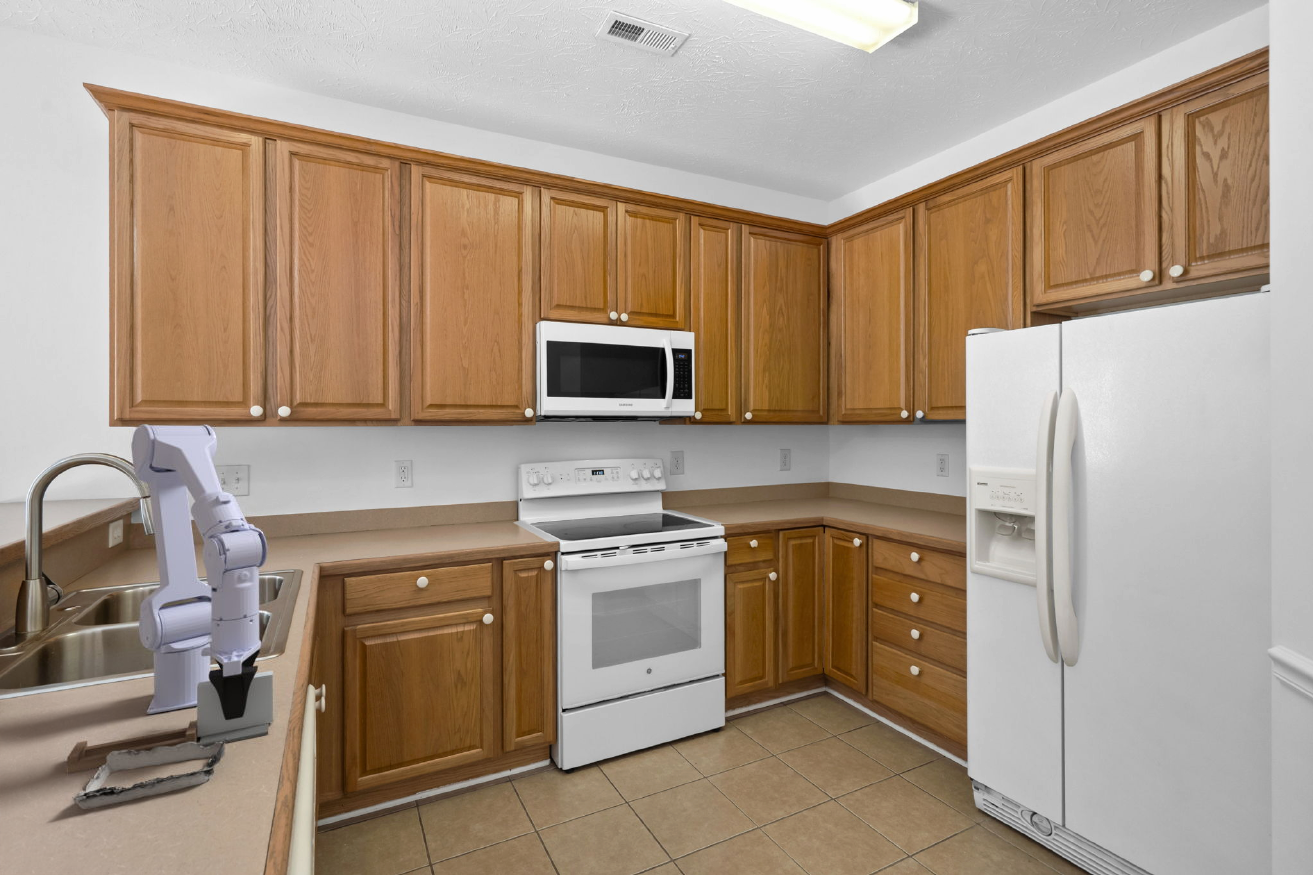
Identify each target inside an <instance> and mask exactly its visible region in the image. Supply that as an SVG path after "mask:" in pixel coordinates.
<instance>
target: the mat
mask: <svg viewBox="0 0 1313 875" xmlns="http://www.w3.org/2000/svg"><path fill="white" fill-rule="evenodd" d="M269 725H270V723H266V724H261V725H256V726H251V727H246V728H241V729H236V730H231V731H226V732H221V733H216V734H211V735H206V736H201V737H200V740H199V743H201V746H204V747H210V746H212V745H214V742H216V741H218V742H223V741H224V740H225V738H227V740H226V741H225V744H228V743H234V742H238V741H242V740H244V741H245V740H249V739H253V738H259V737H262V736H267V735H269V728H270V727H269ZM223 739H224V740H223Z"/></svg>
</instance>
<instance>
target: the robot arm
mask: <svg viewBox="0 0 1313 875" xmlns="http://www.w3.org/2000/svg"><path fill="white" fill-rule="evenodd" d="M217 440H218V439H217V435H216V433H215V430H214V429H212V426H210V425H209V424H201V425H163V424H162V425H160V424H159V425H155V424H153V425H150V424H140V425H139V426H138V427H137V428H136V429H135V430H134V432H133V434H132V441H131V444H130V445H131V446H130V447H131V456H132V466H133V471H134V473H135V474H134V475H135V479H136V480H139V481H141V482H144V483H145V484H147V487H148V488H147V489H148V493H149V496H150V497H149V498H150V506H151V513H152V522H153V523H152V524H153V531H154V532H153V533H154V540H155V548H156V559H157V566H158V576H159V577H158V578H159V583H160V585H159V586H158V587H157V588H156V589H155V590H154V591H153V592H151V593H150V594H149V595H147V596H146V597H145V598H144V599H143V601H142V602H141V603H140V607H139V614H140V615H139V621H138V633H139V634H138V635H139V638H140V641H141V644H142V645H143V647H144V648H146V649H147V650H149V651H153V698H152V700H151V702H150V704H149V705H148V709H147V710H146V714H148V715H151V714H157V713H162V712H167V711H174V710H179V709H186V708H191V707H197V686H198V683H200V682H206V681H210V682H211V683H212V685H213V686H214V687H215V689H216V691H217V693H218V696H219V699H220V703H221V707H222V711H223V715H224V718H225V720H231V719H236V718H241V717H243V715H244V712H245V708H246V702H247V696H248V691H249V688H250V685H251V682H252V680H253V678H254V676H255V674H256V673H258V672H257V671H258V668H259V665H254V664H255V662H256V660H257V658H258V656H259V655H260V651H261V648H262V641H261V639H260V569H259V568H262V567H263V566H264V565H265V564H266V562H267V561H266V560H267V558H268V545H267V544H268V543H267V539H266V537H265V534H264V532H263V531H262V530H261V529H260V528H259V527H255V525H254V524H253V523H248V521H247V520H246V517H245V515H244V513H243V511H242V510H241V508H240V505H239V504H238V501H237V499H236V497H235V495H234V494H231V493H230V492H225V491H223V489H222V486H221V483H220V480H219V477H218V474H217V470H216V468H215V465H214V461H215V456H216V454H217V448H218V441H217ZM189 493H190V496H191V497H192V498H193V500H194V502H193V503H192V506H191V508H190V502H189V501H190V500H189ZM191 516H192V518H193V521H194V522H195V525H196V527H197V529H198V532H199V533H200V534H199V535H200V536H201V538H202V540H203V543H204V544H203V550H202V560H203V565H204V569H205V572H206V582H207V583H206V582H203V581H202V580H200V579H199V576H198V569H197V568H198V567H197V560H196V552H195V551H196V550H195V543H194V535H193V529H192V527H193V526H192V519H191ZM193 599H194V600H193ZM185 600H186V601H187V600H192V601H187V602H182V601H185ZM180 601H181V602H182V603H178V604H177V603H176V604H173V605H167V606H163V605H164V604H165V605H166V604H170V603H175V602H180ZM211 658H212V659H214V660H215V662H216V663H217V665H218V666H219V668H218V669H212V670H211Z"/></svg>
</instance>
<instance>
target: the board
mask: <svg viewBox="0 0 1313 875" xmlns="http://www.w3.org/2000/svg"><path fill="white" fill-rule="evenodd" d="M196 710H197V712H196V720H197V737H198V738H201V736H206V735H211V734H216V733H221V732H226V731H231V730H236V729H241V728H246V727H251V726H256V725H261V724H266V723H269V724H270V723H271V724H272V723H273V722H274V671H273V670H268V671H260V672H256V674H255V676H254V678H253V680H252V682H251V685H250V688H249V691H248V696H247V702H246V708H245V712H244V715H243V717H241V718H236V719H231V720H225V718H224V715H223V711H222V707H221V703H220V699H219V696H218V693H217V691H216V689H215V687H214V686H213V685H212V683H211V682H210V681H206V682H200V683H198V686H197V706H196Z"/></svg>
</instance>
